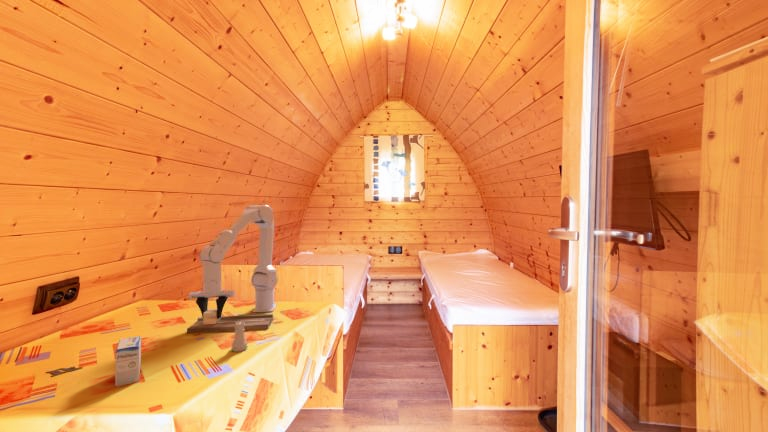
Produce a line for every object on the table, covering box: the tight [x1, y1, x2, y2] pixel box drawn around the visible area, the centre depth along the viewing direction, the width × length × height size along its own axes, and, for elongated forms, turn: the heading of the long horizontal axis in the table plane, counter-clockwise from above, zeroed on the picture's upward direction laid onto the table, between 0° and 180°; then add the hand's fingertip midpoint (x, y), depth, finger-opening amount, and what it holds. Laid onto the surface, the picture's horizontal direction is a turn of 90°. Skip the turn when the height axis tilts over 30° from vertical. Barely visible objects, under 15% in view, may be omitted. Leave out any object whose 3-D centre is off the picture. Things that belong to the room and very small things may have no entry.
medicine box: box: [114, 335, 142, 387], centre depth 77 cm, size 8×4×9 cm, turn 35°
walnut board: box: [186, 313, 274, 334], centre depth 113 cm, size 10×26×2 cm, turn 99°
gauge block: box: [202, 308, 222, 325], centre depth 112 cm, size 5×4×4 cm
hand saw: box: [45, 366, 84, 378], centre depth 88 cm, size 24×5×1 cm, turn 143°
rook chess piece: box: [231, 321, 248, 353], centre depth 94 cm, size 4×4×8 cm
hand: (212, 317), depth 112 cm, fingers closed on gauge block, 4 cm apart
